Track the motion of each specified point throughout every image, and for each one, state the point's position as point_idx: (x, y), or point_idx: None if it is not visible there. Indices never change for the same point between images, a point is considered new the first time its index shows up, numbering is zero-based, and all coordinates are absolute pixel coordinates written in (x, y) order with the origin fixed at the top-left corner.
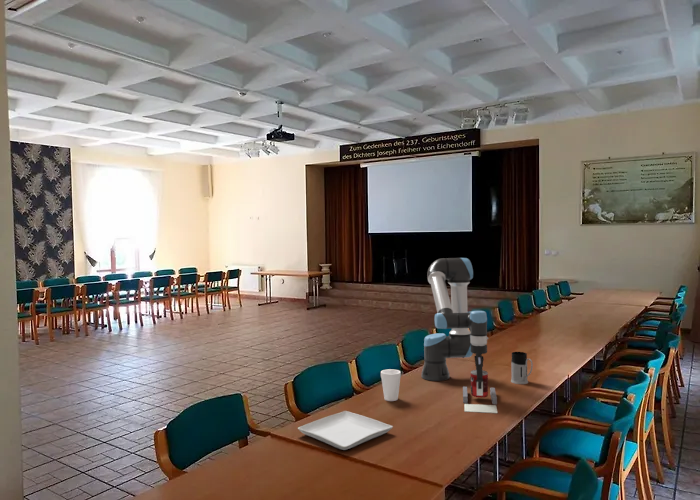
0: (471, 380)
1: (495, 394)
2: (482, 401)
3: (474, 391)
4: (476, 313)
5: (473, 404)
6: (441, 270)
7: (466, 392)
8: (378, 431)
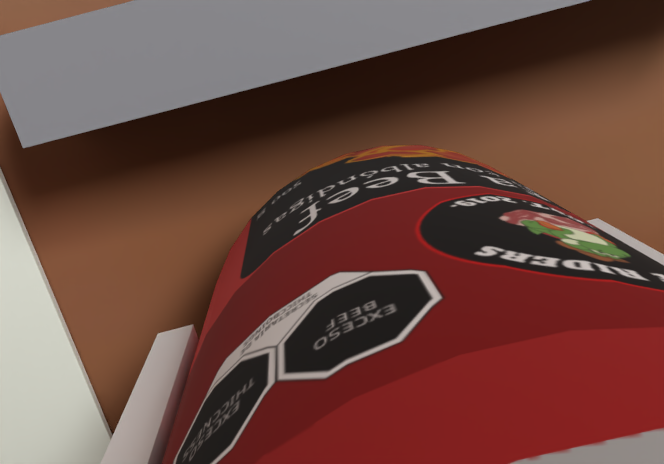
0: (280, 320)
1: None
2: None
3: (215, 294)
4: None
5: (23, 254)
6: None
7: (343, 42)
8: None
